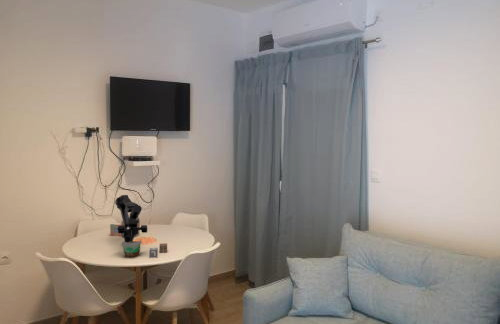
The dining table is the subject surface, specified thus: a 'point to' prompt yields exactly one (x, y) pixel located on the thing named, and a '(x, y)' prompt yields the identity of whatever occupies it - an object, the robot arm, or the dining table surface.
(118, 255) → the dining table surface
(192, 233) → the dining table surface
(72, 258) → the dining table surface
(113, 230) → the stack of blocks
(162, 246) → the walnut block numbered 1
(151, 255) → the charcoal block numbered 7
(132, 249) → the food container
